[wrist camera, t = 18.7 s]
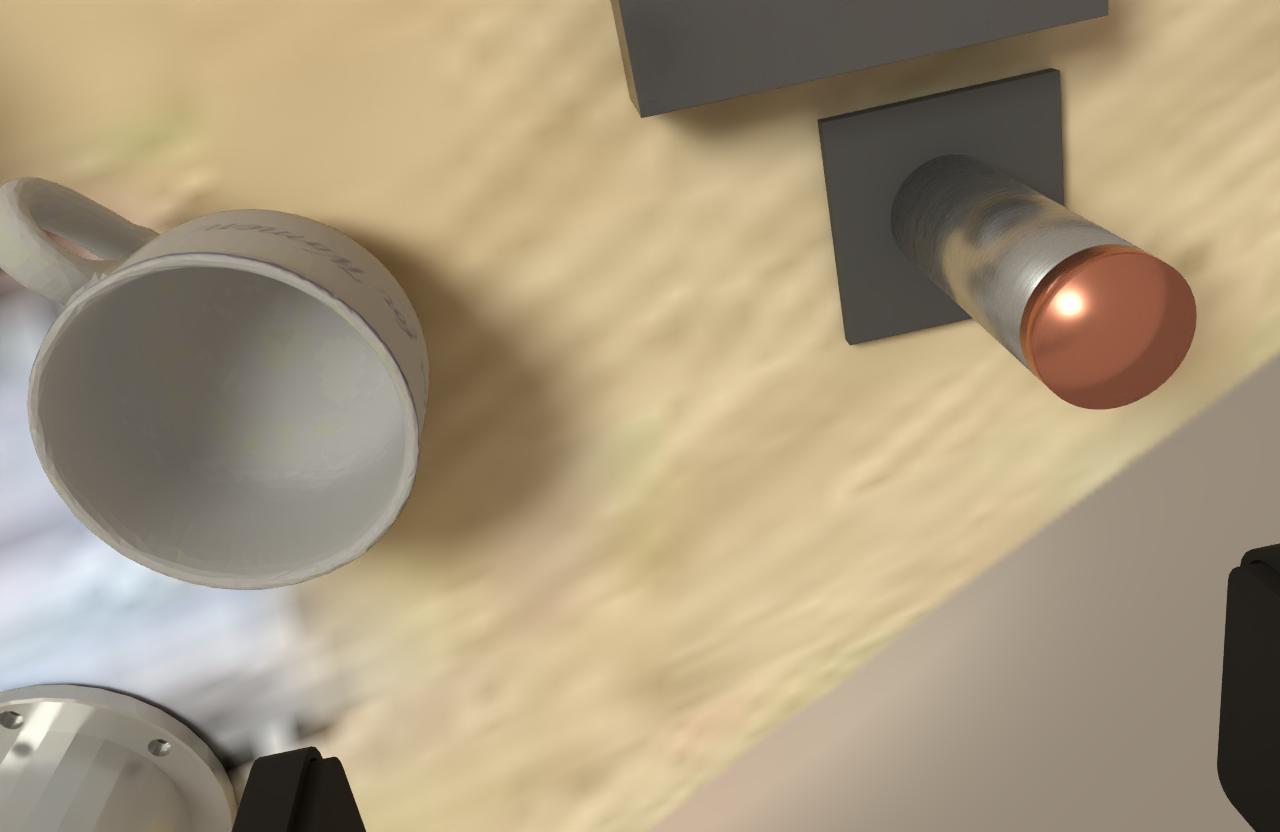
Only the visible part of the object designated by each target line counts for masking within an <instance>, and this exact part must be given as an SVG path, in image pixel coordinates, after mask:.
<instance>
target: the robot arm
mask: <svg viewBox="0 0 1280 832" xmlns="http://www.w3.org/2000/svg"><path fill="white" fill-rule="evenodd" d="M1217 769H1218V775H1219V780H1220V783H1221V785H1222V788H1223V790H1224V792H1225V794H1226V796H1227V797H1228V799H1229V800H1230V802H1231V803H1232V805H1233V806H1234V807H1235V808H1236V809H1237V810H1238V812H1239V813H1240V814H1241V815H1242V816H1243V817H1244V819H1245V820H1246V821H1247V822H1248V823H1249V825H1250V826H1251V827H1252V828H1253V829H1254V830H1255V831H1256V832H1280V544H1276V545H1271V546H1266V547H1261V548H1256V549H1252V550H1250V551H1248V552H1246V553H1245V555H1244V556H1243V558H1242V560H1241V565H1240V567H1236V568H1234V569H1232V571H1231V573H1230V574H1229V579H1228V590H1227V607H1226V624H1225V640H1224V658H1223V675H1222V691H1221V708H1220V725H1219V743H1218V759H1217ZM0 832H366V830H365V827H364V824H363V822H362V819H361V816H360V813H359V810H358V808H357V805H356V802H355V799H354V797H353V794H352V791H351V788H350V785H349V783H348V780H347V777H346V774H345V771H344V769H343V766H342V764H341V762H340V760H339V759H338V758H337V757H330V758H326V759H323V758H322V756H321V754H320V752H319V751H318V750H317V748H316V747H312V746H311V747H307V748H302V749H297V750H292V751H288V752H283V753H278V754H273V755H269V756H264V757H259V758H258V759H257V760H255V762H254V764H253V766H252V768H251V771H250V774H249V778H248V781H247V784H246V787H245V790H244V793H243V797H242V800H241V803H240V806H239V809H238V812H237V806H236V801H235V796H234V791H233V787H232V784H231V782H230V780H229V778H228V776H227V774H226V772H225V770H224V768H223V765H222V764H221V763H220V761H219V760H218V759H217V757H216V756H215V755H214V753H213V752H212V751H211V750H210V748H209V747H208V746H207V744H206V743H205V742H203V741H202V740H201V739H200V738H199V737H198V736H197V735H196V734H194V733H193V732H192V731H191V730H190V729H189V728H188V727H187V726H186V725H184V724H182V723H181V722H179V721H178V720H176V719H174V718H173V717H171V716H170V715H168V714H166V713H165V712H163V711H162V710H160V709H158V708H156V707H153V706H151V705H149V704H146V703H144V702H142V701H139V700H137V699H135V698H132V697H129V696H126V695H122V694H118V693H115V692H111V691H107V690H103V689H99V688H91V687H83V686H75V685H35V686H29V687H23V688H18V689H12V690H7V691H3V692H0Z"/></svg>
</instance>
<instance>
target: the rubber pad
mask: <svg viewBox="0 0 1280 832" xmlns="http://www.w3.org/2000/svg"><path fill="white" fill-rule="evenodd" d="M818 127H819V135H820V143H821V150H822V158H823V166H824V174H825V182H826V190H827V198H828V205H829V213H830V221H831V229H832V237H833V245H834V253H835V260H836V268H837V276H838V284H839V292H840V300H841V307H842V315H843V323H844V331H845V339H846V341H847V342H848V343H849V345H853V344H857V343H862V342H867V341H871V340H876V339H880V338H885V337H889V336H894V335H898V334H903V333H907V332H912V331H916V330H921V329H925V328H930V327H935V326H939V325H944V324H948V323H953V322H957V321H962V320H966V319H971V318H972V317H971V316H970V315H969V314H968V313H967V312H966V311H965V310H964V309H962V308H961V307H960V306H959V305H958V304H957V303H956V302H955V301H954V300H953V299H952V298H950V297H949V296H948V295H947V294H946V293H945V292H944V291H943V290H942V289H941V288H940V287H939V286H937V285H936V284H935V283H934V282H933V281H932V280H931V279H930V278H929V277H928V276H927V275H926V274H924V273H923V272H922V271H921V270H920V269H919V268H918V267H917V266H916V265H915V264H914V263H913V262H911V261H910V260H909V259H908V258H907V257H906V256H905V255H904V254H903V253H902V252H901V250H900V249H899V247H898V246H897V244H896V242H895V240H894V237H893V234H892V230H891V219H890V218H891V209H892V205H893V201H894V199H895V196H896V194H897V192H898V190H899V188H900V186H901V185H902V183H903V182H904V181H905V179H906V178H907V177H908V176H909V175H910V174H911V173H912V172H913V171H914V170H915V169H916V168H918V167H919V166H920V165H922V164H924V163H925V162H927V161H929V160H931V159H934V158H936V157H940V156H944V155H950V154H960V155H967V156H971V157H974V158H976V159H978V160H980V161H982V162H984V163H986V164H988V165H989V166H991V167H993V168H995V169H997V170H999V171H1000V172H1002V173H1004V174H1006V175H1008V176H1009V177H1011V178H1013V179H1015V180H1017V181H1018V182H1020V183H1022V184H1024V185H1026V186H1027V187H1029V188H1031V189H1033V190H1035V191H1037V192H1038V193H1040V194H1042V195H1044V196H1046V197H1047V198H1049V199H1051V200H1053V201H1055V202H1056V203H1058V204H1060V205H1062V206H1064V188H1063V159H1062V129H1061V99H1060V70H1056V69H1052V68H1051V69H1046V70H1042V71H1037V72H1033V73H1028V74H1023V75H1019V76H1014V77H1010V78H1005V79H1001V80H996V81H992V82H987V83H983V84H978V85H974V86H969V87H965V88H960V89H955V90H951V91H946V92H942V93H937V94H933V95H928V96H924V97H919V98H915V99H910V100H906V101H901V102H897V103H892V104H888V105H883V106H878V107H874V108H869V109H865V110H860V111H856V112H851V113H847V114H842V115H838V116H833V117H829V118H824V119H820V120H818Z"/></svg>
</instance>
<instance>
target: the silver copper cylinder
mask: <svg viewBox="0 0 1280 832" xmlns="http://www.w3.org/2000/svg"><path fill="white" fill-rule="evenodd" d="M890 219H891V230H892V234H893V237H894V240H895V242H896V244H897V246H898V247H899V249H900V250H901V252H902V253H903V254H904V255H905V256H906V257H907V258H908V259H909V260H910V261H911V262H913V263H914V264H915V265H916V266H917V267H918V268H919V269H920V270H921V271H922V272H923V273H924V274H926V275H927V276H928V277H929V278H930V279H931V280H932V281H933V282H934V283H935V284H936V285H937V286H939V287H940V288H941V289H942V290H943V291H944V292H945V293H946V294H947V295H948V296H949V297H950V298H952V299H953V300H954V301H955V302H956V303H957V304H958V305H959V306H960V307H961V308H962V309H964V310H965V311H966V312H967V313H968V314H969V315H970V316H971V317H972V318H973V319H974V320H975V321H977V322H978V323H979V324H980V325H981V326H982V327H983V328H984V329H985V330H986V331H987V332H988V333H990V334H991V335H992V336H993V337H994V338H995V339H996V340H997V341H998V342H999V343H1000V344H1002V345H1003V346H1004V347H1005V348H1006V349H1007V350H1008V351H1009V352H1010V353H1011V354H1012V355H1013V356H1015V357H1016V358H1017V359H1018V360H1019V361H1020V362H1021V363H1022V364H1023V365H1024V366H1025V367H1026V368H1028V369H1029V370H1030V371H1031V372H1032V373H1033V374H1034V375H1035V376H1036V377H1037V378H1038V379H1039V380H1041V381H1042V382H1043V383H1044V384H1045V385H1046V386H1047V387H1048V388H1049V389H1050V390H1051V391H1053V392H1054V393H1055V394H1056V395H1057V396H1059V397H1060V398H1061V399H1063V400H1064V401H1066V402H1068V403H1070V404H1073V405H1075V406H1078V407H1082V408H1087V409H1111V408H1117V407H1121V406H1124V405H1128V404H1130V403H1133V402H1135V401H1137V400H1139V399H1141V398H1143V397H1145V396H1147V395H1148V394H1150V393H1151V392H1153V391H1154V390H1156V389H1157V388H1158V387H1160V386H1161V385H1162V384H1163V383H1164V382H1165V381H1166V380H1167V379H1168V378H1169V377H1170V376H1171V375H1172V374H1173V373H1174V372H1175V370H1176V369H1177V368H1178V367H1179V365H1180V364H1181V362H1182V361H1183V359H1184V357H1185V356H1186V354H1187V352H1188V350H1189V348H1190V345H1191V342H1192V339H1193V336H1194V332H1195V327H1196V305H1195V300H1194V296H1193V294H1192V291H1191V289H1190V287H1189V285H1188V283H1187V282H1186V280H1185V279H1184V278H1183V277H1182V275H1181V274H1180V273H1179V272H1178V271H1177V270H1175V269H1174V268H1173V267H1171V266H1170V265H1168V264H1167V263H1165V262H1163V261H1161V260H1159V259H1158V258H1156V257H1154V256H1152V255H1150V254H1149V253H1147V252H1145V251H1143V250H1141V249H1140V248H1138V247H1136V246H1134V245H1132V244H1131V243H1129V242H1127V241H1125V240H1123V239H1121V238H1120V237H1118V236H1116V235H1114V234H1112V233H1111V232H1109V231H1107V230H1105V229H1103V228H1102V227H1100V226H1098V225H1096V224H1094V223H1093V222H1091V221H1089V220H1087V219H1085V218H1084V217H1082V216H1080V215H1078V214H1076V213H1074V212H1073V211H1071V210H1069V209H1067V208H1065V207H1064V206H1062V205H1060V204H1058V203H1056V202H1055V201H1053V200H1051V199H1049V198H1047V197H1046V196H1044V195H1042V194H1040V193H1038V192H1037V191H1035V190H1033V189H1031V188H1029V187H1027V186H1026V185H1024V184H1022V183H1020V182H1018V181H1017V180H1015V179H1013V178H1011V177H1009V176H1008V175H1006V174H1004V173H1002V172H1000V171H999V170H997V169H995V168H993V167H991V166H989V165H988V164H986V163H984V162H982V161H980V160H978V159H976V158H974V157H971V156H967V155H960V154H950V155H944V156H940V157H936V158H934V159H931V160H929V161H927V162H925V163H924V164H922V165H920V166H919V167H918V168H916V169H915V170H914V171H913V172H912V173H911V174H910V175H909V176H908V177H907V178H906V179H905V181H904V182H903V183H902V185H901V186H900V188H899V190H898V192H897V194H896V196H895V199H894V201H893V205H892V209H891V218H890Z"/></svg>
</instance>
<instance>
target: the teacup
mask: <svg viewBox="0 0 1280 832" xmlns="http://www.w3.org/2000/svg"><path fill="white" fill-rule="evenodd" d="M40 228H42V229H45V230H47V231H50V232H52V233H54V234H56V235H59V236H61V237H63V238H66V239H68V240H69V241H71V242H73V243H75V244H77V245H79V246H81V247H83V248H84V249H86V250H88V251H90V252H91V253H93V254H95V255H96V256H98V257H100V258H102V259H103V260H104V261H96V260H90V259H86V258H83V257H81V256H78V255H76V254H73V253H71V252H69V251H68V250H66V249H65V248H63V247H61V246H60V245H58V244H57V243H55V242H54V241H53V240H51V239H50V238H49V237H48V236H47V235H46V234H45V233H44V232H43V231H42V230H41V229H40ZM0 268H1V269H2V270H4V271H5V272H6V273H7V274H9V275H10V276H11V277H12V278H13V279H15V280H16V281H17V282H18V283H20V284H21V285H23V286H25V287H27V288H28V289H30V290H32V291H34V292H36V293H38V294H40V295H42V296H44V297H46V298H49V299H51V300H53V301H55V302H58V303H61V304H64V305H66V306H67V307H66V308H65V309H64V310H63V311H62V312H61V314H60V315H59V316H58V318H57V319H56V320H55V322H54V323H53V324H52V326H51V327H50V329H49V331H48V333H47V334H46V336H45V338H44V340H43V343H42V345H41V347H40V349H39V351H38V354H37V356H36V359H35V361H34V364H33V367H32V371H31V375H30V379H29V392H28V416H29V426H30V432H31V436H32V440H33V443H34V446H35V449H36V452H37V455H38V457H39V460H40V462H41V465H42V467H43V469H44V471H45V473H46V475H47V477H48V478H49V480H50V482H51V484H52V485H53V487H54V488H55V490H56V491H57V493H58V494H59V495H60V497H61V498H62V499H63V500H64V501H65V503H66V504H67V506H68V507H69V508H70V510H71V511H72V513H73V514H74V515H75V516H76V517H77V518H78V519H79V520H80V521H81V522H82V523H83V524H84V525H85V526H86V527H87V528H88V529H89V530H90V531H91V532H92V533H94V534H95V535H96V536H98V537H99V538H100V539H102V540H103V541H104V542H105V543H107V544H108V545H109V546H111V547H112V548H114V549H115V550H116V551H118V552H119V553H120V554H122V555H124V556H126V557H127V558H129V559H131V560H133V561H135V562H137V563H139V564H141V565H143V566H145V567H147V568H149V569H151V570H154V571H156V572H159V573H161V574H164V575H167V576H170V577H173V578H176V579H179V580H182V581H186V582H189V583H192V584H198V585H204V586H208V587H213V588H222V589H236V590H261V589H269V588H276V587H282V586H287V585H294V584H297V583H301V582H304V581H307V580H310V579H313V578H316V577H319V576H322V575H325V574H328V573H330V572H332V571H334V570H336V569H338V568H340V567H342V566H344V565H346V564H348V563H350V562H351V561H353V560H355V559H356V558H358V557H360V556H361V555H363V554H364V553H366V551H367V550H368V549H369V548H370V547H372V546H373V545H374V544H375V543H376V542H377V541H378V540H379V539H380V538H381V537H382V536H383V535H384V534H385V533H386V532H387V530H388V529H389V528H390V527H391V526H392V524H393V523H394V522H395V521H396V519H397V518H398V517H399V515H400V513H401V512H402V510H403V508H404V506H405V504H406V502H407V500H408V498H409V497H410V493H411V490H412V487H413V485H414V482H415V478H416V473H417V469H418V462H419V454H420V439H421V435H422V431H423V425H424V420H425V414H426V408H427V401H428V392H429V361H428V353H427V347H426V342H425V338H424V334H423V331H422V328H421V325H420V322H419V319H418V317H417V315H416V313H415V310H414V308H413V306H412V304H411V302H410V300H409V299H408V297H407V295H406V294H405V292H404V290H403V289H402V288H401V286H400V285H399V283H398V282H397V280H396V279H395V278H394V277H393V275H392V274H391V273H390V272H389V271H388V270H387V269H386V267H385V266H384V265H383V264H382V263H381V262H380V261H379V260H378V259H377V258H376V257H374V256H373V255H372V254H371V253H370V252H369V251H368V250H366V249H365V248H364V247H362V246H361V245H359V244H358V243H357V242H355V241H354V240H352V239H351V238H349V237H348V236H346V235H344V234H342V233H341V232H339V231H337V230H335V229H333V228H331V227H329V226H326V225H324V224H322V223H320V222H317V221H315V220H312V219H308V218H305V217H302V216H298V215H295V214H289V213H284V212H279V211H271V210H257V209H247V210H232V211H224V212H218V213H213V214H209V215H206V216H202V217H198V218H195V219H193V220H190V221H188V222H185V223H182V224H180V225H178V226H176V227H174V228H172V229H170V230H168V231H166V232H164V233H163V234H161V235H159V234H158V233H156V232H155V231H154V230H152V229H149V228H146V227H142V226H139V225H135V224H133V223H131V222H130V221H128V220H126V219H125V218H123V217H121V216H120V215H118V214H116V213H115V212H113V211H111V210H109V209H107V208H105V207H104V206H102V205H100V204H98V203H96V202H94V201H93V200H91V199H89V198H87V197H85V196H83V195H81V194H79V193H77V192H75V191H74V190H72V189H69V188H67V187H64V186H62V185H59V184H57V183H54V182H50V181H47V180H44V179H40V178H33V177H23V178H17V179H14V180H12V181H9V182H7V183H4V184H3V185H2V186H1V187H0Z"/></svg>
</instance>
